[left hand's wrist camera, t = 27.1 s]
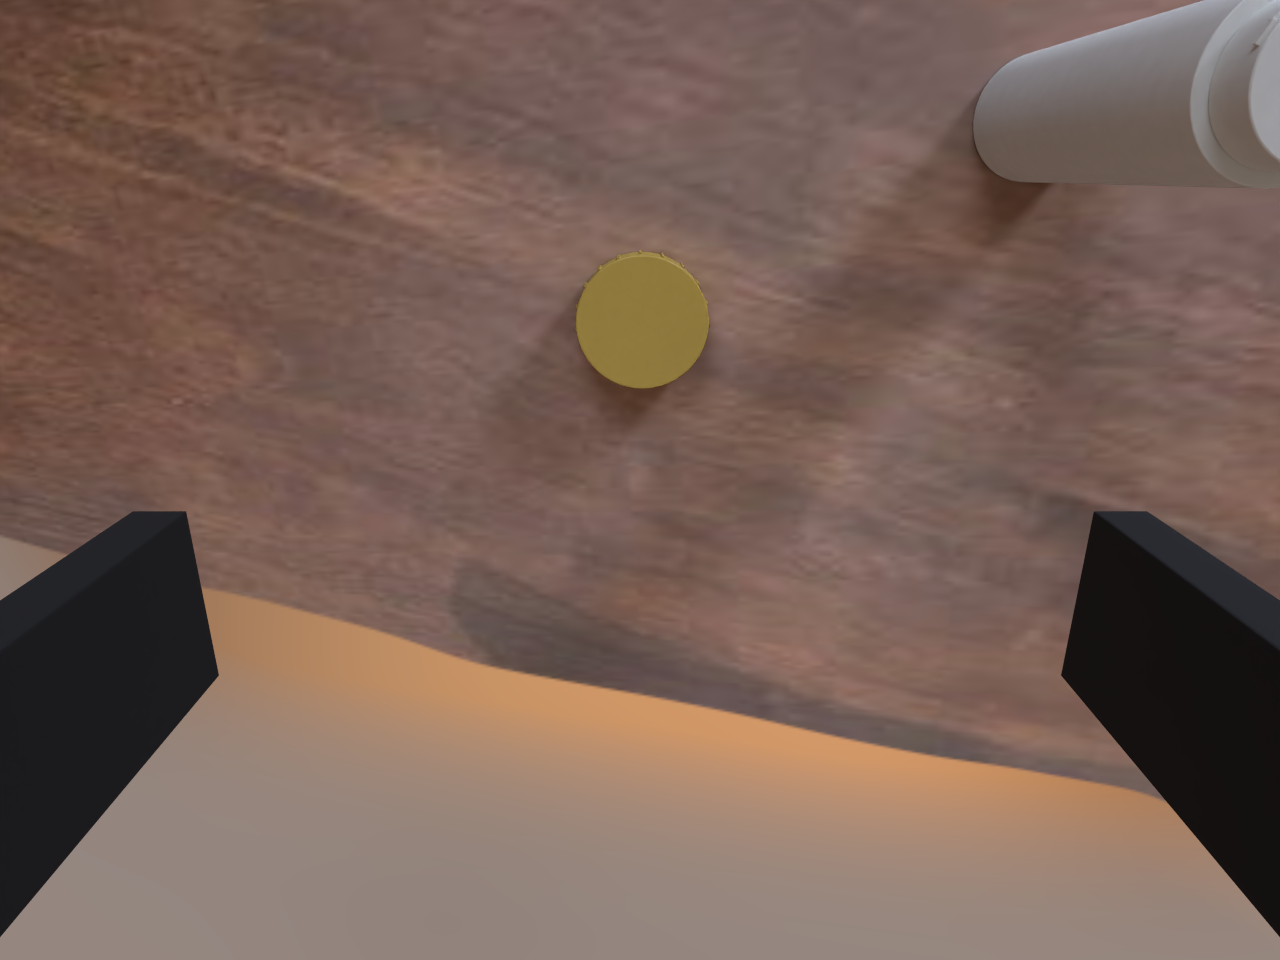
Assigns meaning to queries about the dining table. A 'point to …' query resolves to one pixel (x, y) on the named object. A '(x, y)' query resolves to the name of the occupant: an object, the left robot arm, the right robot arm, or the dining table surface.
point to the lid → (642, 320)
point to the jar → (1144, 103)
